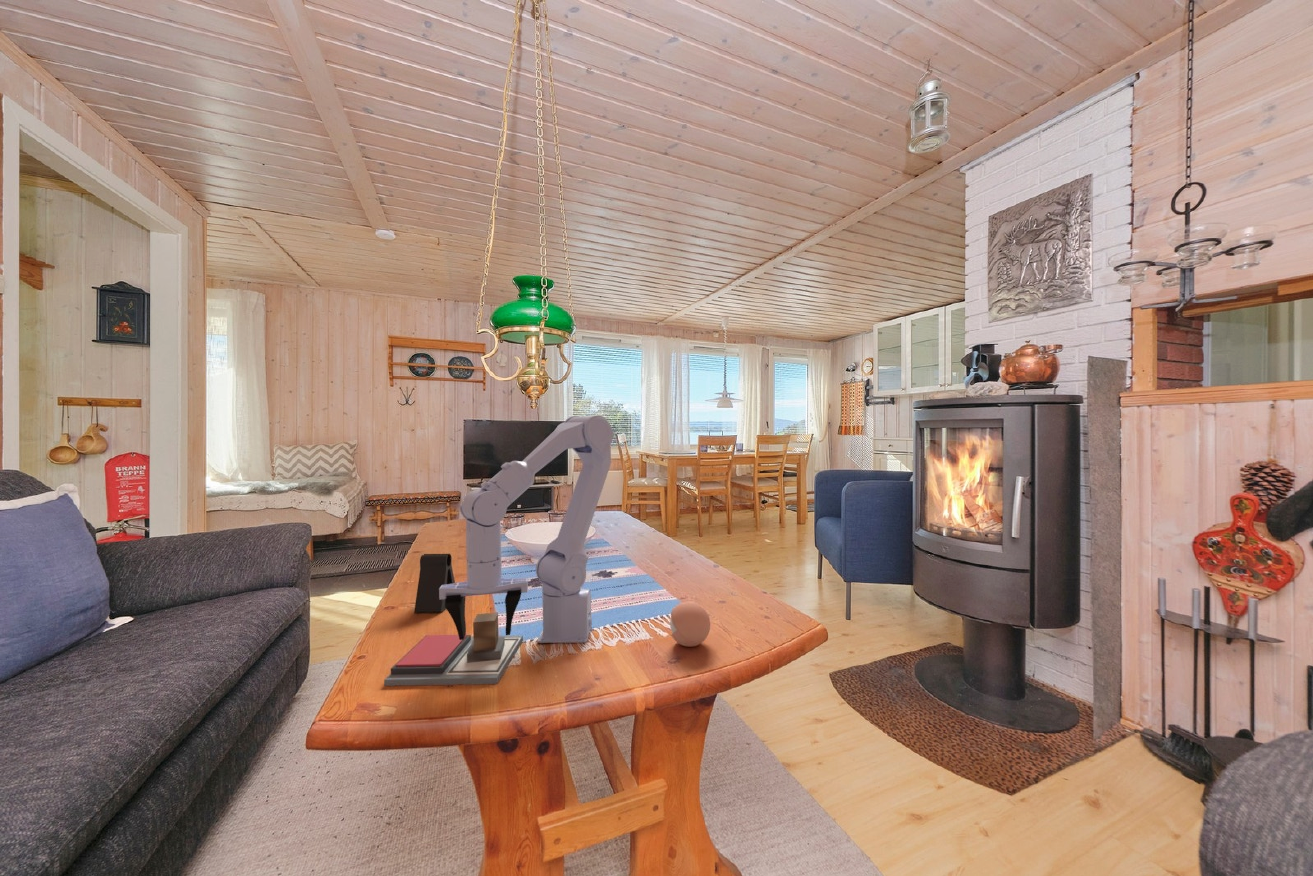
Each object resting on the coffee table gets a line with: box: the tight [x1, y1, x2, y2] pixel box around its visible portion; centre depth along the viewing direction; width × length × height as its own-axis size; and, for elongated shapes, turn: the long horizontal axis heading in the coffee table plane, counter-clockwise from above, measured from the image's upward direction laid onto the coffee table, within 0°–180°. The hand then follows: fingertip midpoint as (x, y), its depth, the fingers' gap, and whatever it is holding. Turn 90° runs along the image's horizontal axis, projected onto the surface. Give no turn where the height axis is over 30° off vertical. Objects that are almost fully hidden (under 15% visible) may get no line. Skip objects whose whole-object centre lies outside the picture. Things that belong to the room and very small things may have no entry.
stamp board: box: [383, 634, 524, 687], centre depth 82 cm, size 18×15×2 cm
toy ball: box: [669, 600, 711, 648], centre depth 87 cm, size 8×8×8 cm
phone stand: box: [413, 553, 456, 614], centre depth 108 cm, size 9×6×12 cm, turn 0°
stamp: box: [467, 612, 505, 663], centre depth 82 cm, size 6×6×6 cm
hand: (485, 635), depth 82 cm, fingers open, 7 cm apart
